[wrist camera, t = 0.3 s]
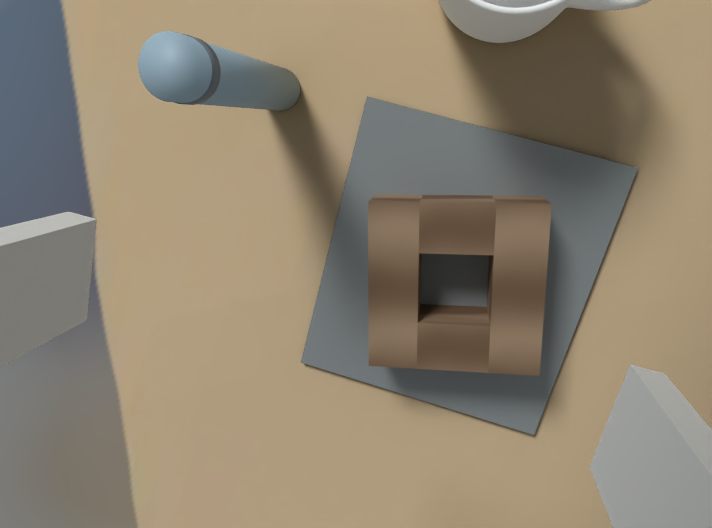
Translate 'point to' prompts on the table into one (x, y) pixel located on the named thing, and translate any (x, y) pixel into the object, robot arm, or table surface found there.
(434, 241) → the wooden block with hole
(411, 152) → the mat
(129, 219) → the table surface
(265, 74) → the round-tipped blue rod
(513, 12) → the mug
